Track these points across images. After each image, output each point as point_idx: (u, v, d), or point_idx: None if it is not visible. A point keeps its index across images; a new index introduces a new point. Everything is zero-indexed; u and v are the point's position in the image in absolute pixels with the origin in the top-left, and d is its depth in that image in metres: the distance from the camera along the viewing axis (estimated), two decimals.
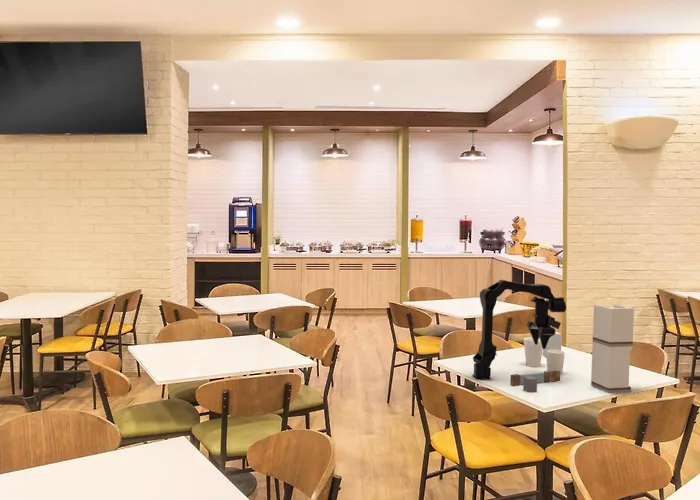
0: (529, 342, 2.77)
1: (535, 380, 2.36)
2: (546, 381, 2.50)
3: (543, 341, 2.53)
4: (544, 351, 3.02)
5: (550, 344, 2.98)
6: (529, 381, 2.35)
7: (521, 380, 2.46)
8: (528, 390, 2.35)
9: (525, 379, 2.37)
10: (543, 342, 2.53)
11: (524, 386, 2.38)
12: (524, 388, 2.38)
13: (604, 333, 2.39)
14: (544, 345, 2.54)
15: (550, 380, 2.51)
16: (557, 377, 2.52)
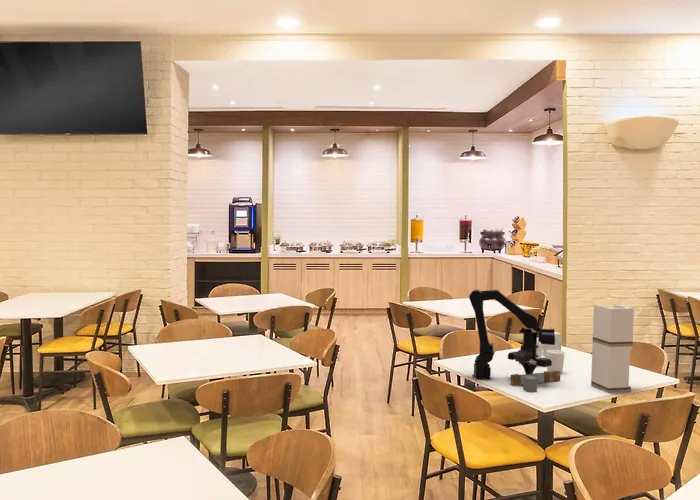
0: None
1: (535, 380, 2.36)
2: (546, 381, 2.50)
3: None
4: (544, 351, 3.02)
5: None
6: (529, 381, 2.35)
7: (521, 380, 2.46)
8: (528, 390, 2.35)
9: (525, 379, 2.37)
10: None
11: (524, 386, 2.38)
12: (524, 388, 2.38)
13: (604, 333, 2.39)
14: None
15: (550, 380, 2.51)
16: (557, 377, 2.52)
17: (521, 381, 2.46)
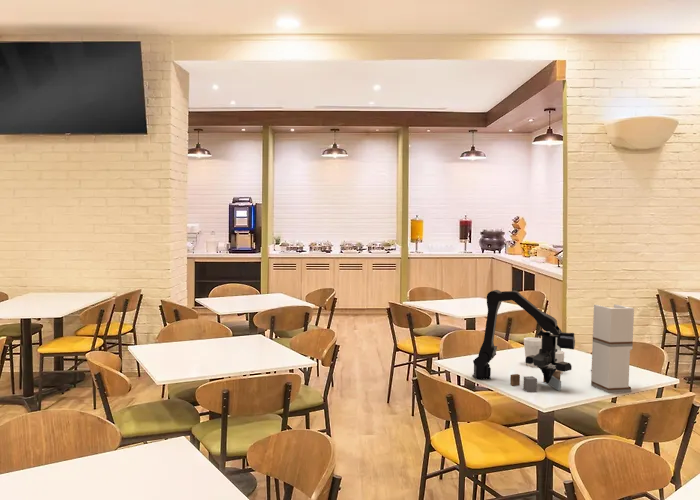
0: (529, 342, 2.77)
1: (535, 380, 2.36)
2: None
3: None
4: None
5: None
6: (529, 381, 2.35)
7: None
8: (528, 390, 2.35)
9: (525, 379, 2.37)
10: None
11: (524, 386, 2.38)
12: (524, 388, 2.38)
13: (604, 333, 2.39)
14: None
15: None
16: (557, 377, 2.52)
17: None
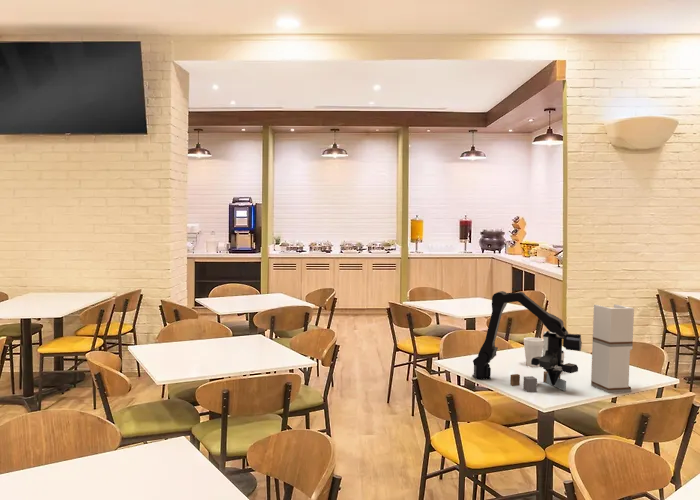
0: (529, 342, 2.77)
1: (535, 380, 2.36)
2: (546, 381, 2.50)
3: None
4: (544, 351, 3.02)
5: None
6: (529, 381, 2.35)
7: None
8: (528, 390, 2.35)
9: (525, 379, 2.37)
10: None
11: (524, 386, 2.38)
12: (524, 388, 2.38)
13: (604, 333, 2.39)
14: None
15: None
16: None
17: None
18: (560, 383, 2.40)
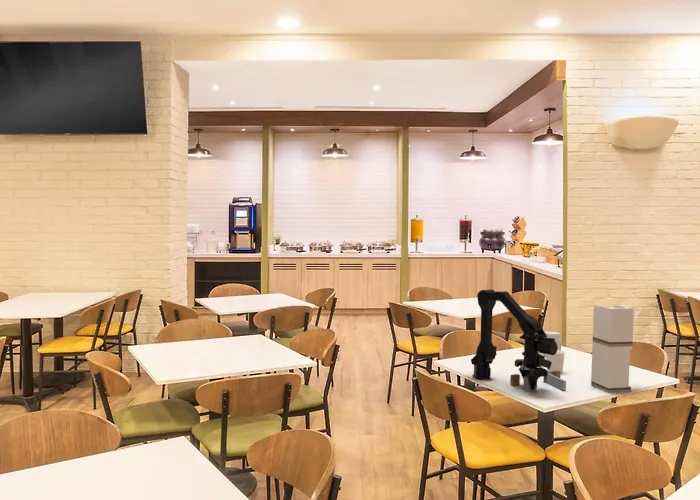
0: None
1: None
2: (546, 381, 2.50)
3: (532, 382, 2.34)
4: None
5: None
6: None
7: None
8: (528, 390, 2.35)
9: (525, 379, 2.37)
10: (532, 383, 2.34)
11: (524, 386, 2.38)
12: (524, 388, 2.38)
13: (604, 333, 2.39)
14: (533, 386, 2.35)
15: None
16: None
17: None
18: (560, 383, 2.40)
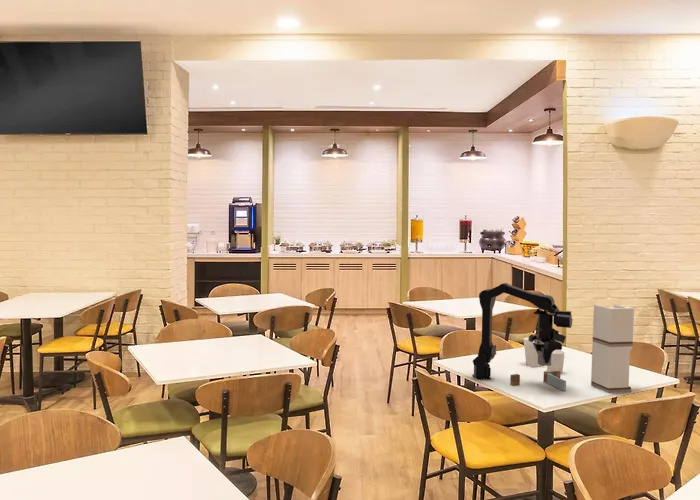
0: (529, 342, 2.77)
1: None
2: (546, 381, 2.50)
3: (546, 355, 2.39)
4: None
5: None
6: None
7: None
8: (542, 363, 2.40)
9: (539, 353, 2.42)
10: (546, 356, 2.39)
11: (538, 360, 2.43)
12: (538, 362, 2.43)
13: (604, 333, 2.39)
14: (547, 359, 2.39)
15: None
16: None
17: None
18: (560, 383, 2.40)
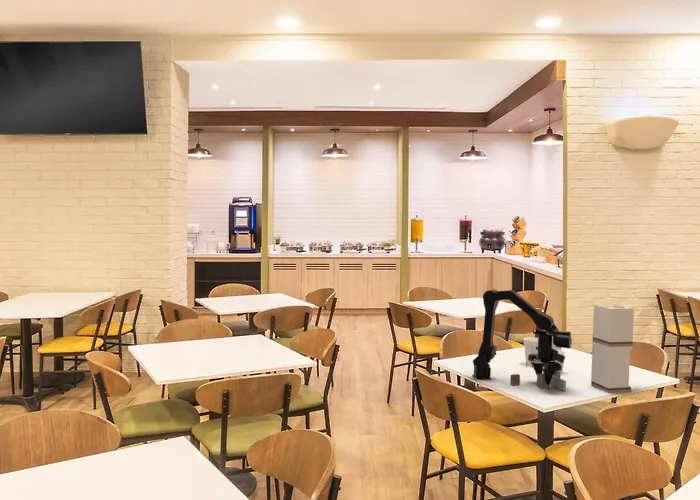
0: (529, 342, 2.77)
1: None
2: None
3: (547, 377, 2.38)
4: None
5: None
6: (542, 378, 2.40)
7: None
8: (542, 387, 2.41)
9: (539, 376, 2.42)
10: (547, 378, 2.38)
11: (538, 383, 2.43)
12: (538, 385, 2.43)
13: (604, 333, 2.39)
14: (548, 381, 2.38)
15: None
16: None
17: None
18: (560, 383, 2.40)
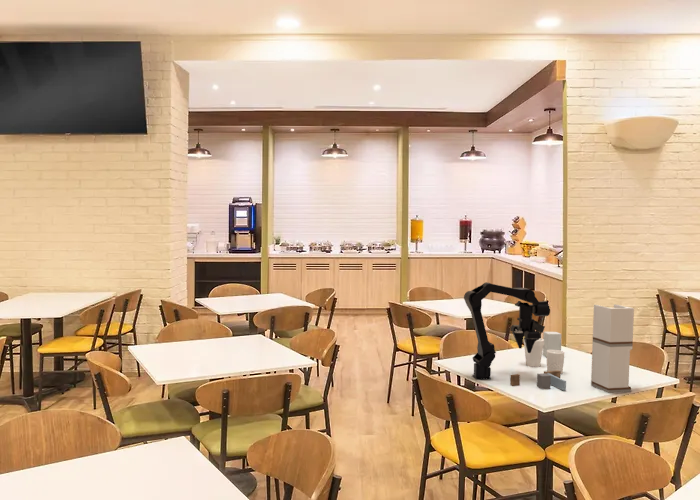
0: None
1: (549, 377, 2.41)
2: None
3: (528, 345, 2.53)
4: (544, 351, 3.02)
5: (550, 344, 2.98)
6: (542, 378, 2.40)
7: None
8: (542, 387, 2.40)
9: (539, 376, 2.42)
10: (528, 346, 2.53)
11: (538, 383, 2.43)
12: (538, 385, 2.43)
13: (604, 333, 2.39)
14: (529, 349, 2.54)
15: None
16: None
17: None
18: (560, 383, 2.40)
